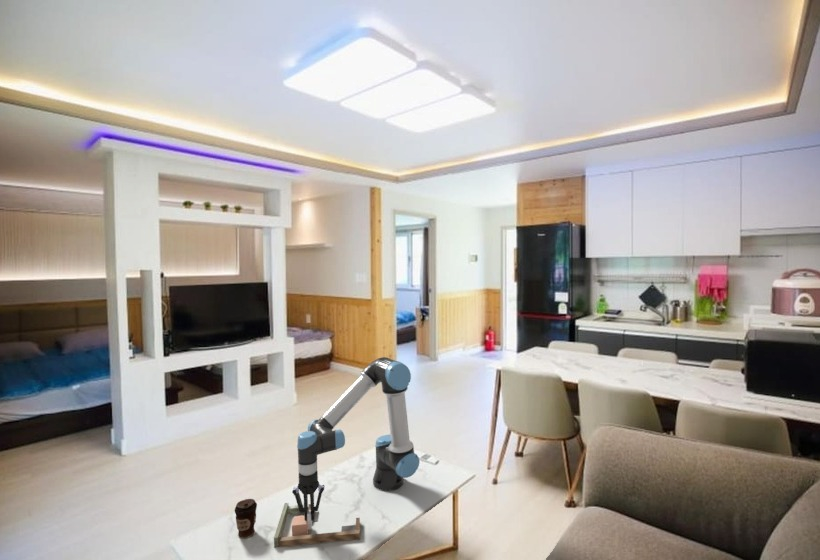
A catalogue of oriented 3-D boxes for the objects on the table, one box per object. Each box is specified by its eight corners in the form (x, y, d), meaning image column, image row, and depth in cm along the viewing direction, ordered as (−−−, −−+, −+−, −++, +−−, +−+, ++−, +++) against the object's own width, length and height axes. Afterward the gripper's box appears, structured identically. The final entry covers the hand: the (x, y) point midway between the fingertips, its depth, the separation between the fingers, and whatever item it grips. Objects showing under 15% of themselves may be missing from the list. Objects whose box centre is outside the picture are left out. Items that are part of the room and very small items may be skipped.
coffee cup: (249, 542, 163) (248, 510, 162) (230, 540, 164) (229, 508, 164) (261, 528, 171) (260, 498, 170) (243, 526, 173) (242, 496, 172)
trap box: (359, 505, 186) (359, 496, 186) (359, 539, 163) (359, 529, 163) (285, 511, 182) (284, 503, 182) (274, 547, 159) (273, 537, 159)
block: (309, 526, 172) (308, 514, 172) (307, 536, 166) (307, 524, 166) (294, 527, 171) (294, 516, 171) (292, 537, 165) (291, 525, 165)
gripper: (325, 465, 171) (326, 520, 173) (293, 467, 170) (294, 523, 171) (323, 474, 164) (325, 531, 165) (290, 477, 162) (292, 534, 164)
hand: (309, 527), depth 168 cm, fingers closed
